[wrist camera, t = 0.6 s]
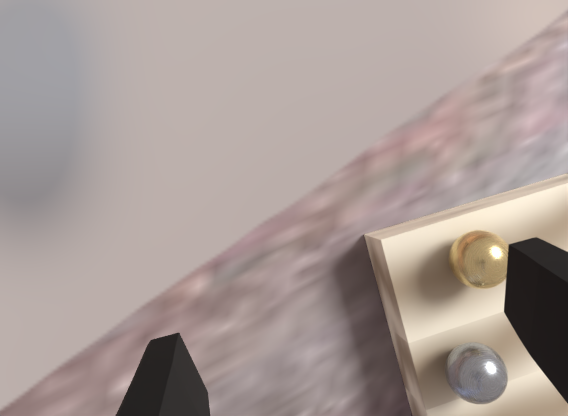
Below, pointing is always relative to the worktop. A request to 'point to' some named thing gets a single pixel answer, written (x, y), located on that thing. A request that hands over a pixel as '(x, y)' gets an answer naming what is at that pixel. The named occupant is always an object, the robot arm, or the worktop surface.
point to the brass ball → (479, 259)
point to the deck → (464, 299)
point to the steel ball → (476, 373)
